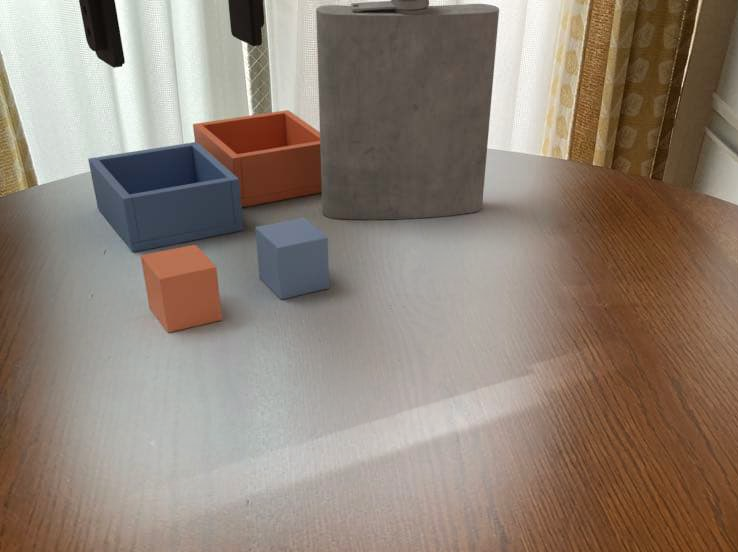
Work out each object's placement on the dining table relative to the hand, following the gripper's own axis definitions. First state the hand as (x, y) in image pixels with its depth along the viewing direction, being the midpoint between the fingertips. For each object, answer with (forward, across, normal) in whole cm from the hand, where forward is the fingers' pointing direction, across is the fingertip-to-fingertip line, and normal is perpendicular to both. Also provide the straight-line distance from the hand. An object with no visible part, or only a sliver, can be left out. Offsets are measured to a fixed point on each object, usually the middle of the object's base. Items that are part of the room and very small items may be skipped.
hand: (181, 51), depth 60 cm
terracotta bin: (+19, -18, -23) cm, 35 cm away
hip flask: (+20, -25, -10) cm, 33 cm away
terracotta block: (+19, +2, -2) cm, 20 cm away
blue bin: (+19, -5, -20) cm, 28 cm away
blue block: (+20, -8, -2) cm, 21 cm away
